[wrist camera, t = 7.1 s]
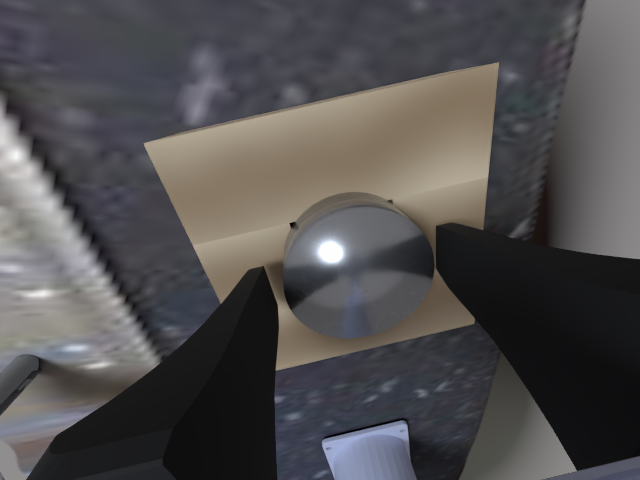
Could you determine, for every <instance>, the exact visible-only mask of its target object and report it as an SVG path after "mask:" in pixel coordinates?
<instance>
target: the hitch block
mask: <svg viewBox="0 0 640 480" xmlns="http://www.w3.org/2000/svg"><path fill="white" fill-rule="evenodd" d="M498 66H499V63H493V64H488V65H483V66H477V67H472V68H467V69H462V70H456V71H451V72H446V73H440V74H436V75H431V76H427V77H422V78H418V79H414V80H409V81H405V82H400V83H396V84H392V85H387V86H383V87H378V88H374V89H370V90H365V91H361V92H357V93H352V94H348V95H343V96H339V97H335V98H330V99H326V100H321V101H317V102H313V103H308V104H304V105H299V106H295V107H291V108H286V109H282V110H277V111H273V112H269V113H264V114H260V115H256V116H251V117H247V118H242V119H238V120H234V121H229V122H225V123H220V124H216V125H212V126H207V127H203V128H198V129H194V130H190V131H185V132H182V133H178V134H175V135H171V136H168V137H164V138H161V139H157V140H154V141H150V142H147V143H143V144H144V146H145V148H146V150H147V152H148V154H149V156H150V158H151V160H152V162H153V164H154V166H155V168H156V171H157V173H158V175H159V177H160V179H161V181H162V183H163V185H164V187H165V189H166V191H167V193H168V195H169V197H170V199H171V201H172V203H173V206H174V208H175V210H176V212H177V214H178V216H179V218H180V220H181V222H182V224H183V226H184V228H185V230H186V232H187V234H188V236H189V239H190V241H191V243H192V245H193V247H194V249H195V251H196V253H197V255H198V257H199V259H200V261H201V263H202V265H203V267H204V269H205V272H206V274H207V276H208V278H209V280H210V282H211V284H212V286H213V288H214V290H215V292H216V294H217V296H218V298H219V300H220V302H221V303H222V302H223V301H224V300H225V299H226V297H227V296H228V295H229V294H230V292H231V291H232V290H233V289H234V287H235V286H236V285H237V283H238V282H239V281H240V280H241V278H242V277H243V276H244V274H245V273H246V272H247V271H248V270H249V269H252V268H257V267H261V266H264V268H265V271H266V273H267V276H268V279H269V282H270V284H271V287H272V290H273V293H274V296H275V298H276V301H277V304H278V315H279V336H278V349H277V361H276V370H281V369H285V368H289V367H293V366H298V365H302V364H306V363H310V362H315V361H319V360H323V359H327V358H332V357H336V356H340V355H344V354H348V353H353V352H357V351H361V350H365V349H370V348H374V347H378V346H382V345H387V344H391V343H395V342H399V341H404V340H408V339H412V338H416V337H421V336H425V335H429V334H433V333H438V332H442V331H446V330H450V329H454V328H459V327H463V326H467V325H471V324H474V321H475V318H474V317H473V316H472V315H471V313H470V312H469V311H468V310H467V309H466V308H465V307H464V305H463V304H462V303H461V302H460V301H459V300H458V299H457V297H456V296H455V295H454V294H453V293H452V292H451V290H450V289H449V288H448V287H447V285H446V284H445V282H444V281H443V279H442V278H441V276H440V274H439V273H438V271H437V269H436V226H437V225H442V224H446V223H450V222H452V223H457V224H462V225H466V226H470V227H473V228H477V229H481V230H483V225H484V215H485V204H486V194H487V183H488V172H489V162H490V151H491V141H492V130H493V119H494V109H495V98H496V87H497V77H498ZM346 192H363V193H369V194H373V195H377V196H379V197H382V198H384V199H386V200H387V201H389V202H391V203H392V204H393V205H395V206H396V207H397V208H398V209H399V210H400V211H401V212H402V213H403V214H404V215H405V216H407V217H408V218H409V219H410V220H411V221H412V222H413V223H414V224H415V225H416V226H417V227H418V228H419V229H420V230H421V231H422V232H423V233H424V235H425V236H426V238H427V239H428V241H429V243H430V245H431V247H432V250H433V254H434V262H435V268H434V276H433V280H432V283H431V286H430V289H429V291H428V293H427V294H426V296H425V298H424V299H423V301H422V302H421V304H420V305H419V306H418V307H417V308H416V309H415V311H413V312H412V313H411V314H410V315H409V316H408V317H407V318H405V319H404V320H403V321H402V322H400V323H398V324H397V325H395V326H393V327H391V328H389V329H387V330H385V331H383V332H380V333H377V334H374V335H370V336H366V337H360V338H336V337H331V336H326V335H323V334H320V333H318V332H316V331H314V330H311V329H310V328H308V327H307V326H305V325H304V324H303V323H301V322H300V321H299V320H298V319H297V318H296V317H295V315H294V314H293V313H292V311H291V310H290V308H289V306H288V304H287V301H286V299H285V295H284V287H283V262H284V246H285V242H286V238H287V236H288V233H289V231H290V229H291V228H292V226H293V224H294V223H295V222H296V220H297V219H298V218H299V217H300V216H301V215H302V213H303V212H304V211H306V210H307V209H308V208H309V207H311V206H312V205H314V204H315V203H317V202H319V201H320V200H323V199H325V198H327V197H329V196H333V195H336V194H340V193H346Z"/></svg>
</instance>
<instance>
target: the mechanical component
mask: <svg viewBox="0 0 640 480" xmlns="http://www.w3.org/2000/svg"><path fill="white" fill-rule="evenodd" d="M38 367H39V360H38V358H37V357H34V356H31V355H21V356H18V357H17V358H15V359H14V360H13V361H12V362H11V363H10V364H9V365H8V366H7V367H6V368H5V369H4V370H3V371H2V372H1V373H0V415H1V414H2V413H3V412H4V411H5V410H6V409H7V408H8V407H9V405H10V404H11V403H12V402H13V401H14V400H15V399H16V398H17V397H18V396H19V394H20V393H21V392H22V391H23V390H24V389H25V388H26V387H27V386H28V385H29V384H30V382H31V381H32V380H33V379H34V378H35V377H36V376H37V375H38V374H39V373H40V371H41V370H38ZM0 480H4V478H3V476H2V474H1V473H0Z"/></svg>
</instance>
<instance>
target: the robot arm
mask: <svg viewBox="0 0 640 480" xmlns="http://www.w3.org/2000/svg"><path fill="white" fill-rule="evenodd" d="M436 269H437V271H438V273H439V274H440V276H441V278H442V279H443V281H444V282H445V284H446V285H447V287H448V288H449V289H450V290H451V292H452V293H453V294H454V295H455V296H456V297H457V299H458V300H459V301H460V302H461V303H462V304H463V305H464V307H465V308H466V309H467V310H468V311H469V312H470V313H471V315H472V316H473V317H474V318H475V319H476V320H477V321H478V323H479V324H480V325H481V326H482V327H483V328H484V329H485V331H486V332H487V333H488V334H489V335H490V337H491V338H492V339H493V340H494V342H495V343H496V344H497V346H498V347H499V349H500V350H501V351H502V353H503V354H504V356H505V357H506V358H507V360H508V361H509V363H510V364H511V365H512V367H513V368H514V370H515V371H516V373H517V374H518V376H519V377H520V379H521V380H522V382H523V383H524V385H525V386H526V388H527V389H528V391H529V392H530V394H531V395H532V397H533V398H534V400H535V402H536V403H537V405H538V406H539V408H540V410H541V411H542V413H543V414H544V416H545V417H546V419H547V420H548V422H549V424H550V425H551V427H552V428H553V430H554V432H555V434H556V435H557V437H558V439H559V440H560V442H561V444H562V446H563V447H564V449H565V451H566V452H567V454H568V456H569V457H570V459H571V461H572V462H573V464H574V466H575V468H576V470H577V471H576V472H572V473H568V474H563V475H559V476H555V477H551V478H547V479H543V480H640V259H631V258H621V257H613V256H605V255H596V254H589V253H582V252H576V251H570V250H565V249H559V248H553V247H548V246H543V245H539V244H535V243H530V242H526V241H522V240H518V239H514V238H510V237H506V236H502V235H499V234H495V233H491V232H488V231H484V230H481V229H477V228H473V227H470V226H466V225H462V224H457V223H452V222H450V223H446V224H442V225H437V226H436ZM278 336H279V315H278V304H277V301H276V298H275V296H274V293H273V290H272V287H271V284H270V282H269V279H268V276H267V273H266V271H265V268H264V266H261V267H257V268H252V269H249V270H248V271H247V272H246V273H245V274H244V276H243V277H242V278H241V280H240V281H239V282H238V283H237V285H236V286H235V287H234V289H233V290H232V291H231V292H230V294H229V295H228V296H227V297H226V299H225V300H224V301H223V302H222V303H221V305H220V306H219V307H218V308H217V309H216V310H215V311H214V313H213V314H212V315H211V316H210V317H209V318H208V319H207V321H206V322H205V323H204V324H203V325H202V326H201V327H200V328H199V329H198V330H197V331H196V332H195V333H194V334H193V335H192V336H191V337H190V338H189V339H188V340H187V341H185V342H184V343H183V344H182V345H181V346H180V347H179V348H178V349H177V350H175V351H174V352H173V353H172V354H171V355H169V356H168V357H167V358H166V359H165V360H164V361H162V362H161V363H160V364H159V365H158V366H156V367H155V368H154V369H153V370H151V371H150V372H149V373H148V374H146V375H145V376H144V377H142V378H141V379H140V380H138V381H137V382H136V383H134V384H133V385H132V386H130V387H129V388H127V389H126V390H125V391H123V392H122V393H121V394H119V395H118V396H116V397H115V398H113V399H112V400H111V401H109V402H108V403H106V404H105V405H103V406H102V407H100V408H99V409H97V410H95V411H94V412H92V413H91V414H89V415H88V416H86V417H85V418H83V419H82V420H80V421H79V422H77V423H75V424H74V425H72V426H71V427H69V428H68V429H66V430H64V431H63V432H61V433H60V434H58V435H57V436H56V437H55V438H54V440H53V441H52V442H51V444H50V445H49V447H48V448H47V450H46V451H45V453H44V454H43V456H42V457H41V459H40V460H39V461H38V463H37V464H36V466H35V467H34V469H33V470H32V472H31V473H30V475H29V476H28V478H27V479H26V480H277V464H276V440H275V401H274V390H275V373H276V361H277V349H278ZM322 447H323V449H324V452H325V455H326V457H327V460H328V463H329V465H330V468H331V471H332V473H333V476H334V478H335V480H417V479H416V476H415V473H414V470H413V467H412V464H411V460H410V448H409V436H408V426H407V423H406V421H403V420H402V421H397V422H393V423H389V424H384V425H380V426H376V427H372V428H368V429H363V430H359V431H355V432H351V433H347V434H342V435H338V436H334V437H330V438H326V439H324V440H323V441H322Z"/></svg>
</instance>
